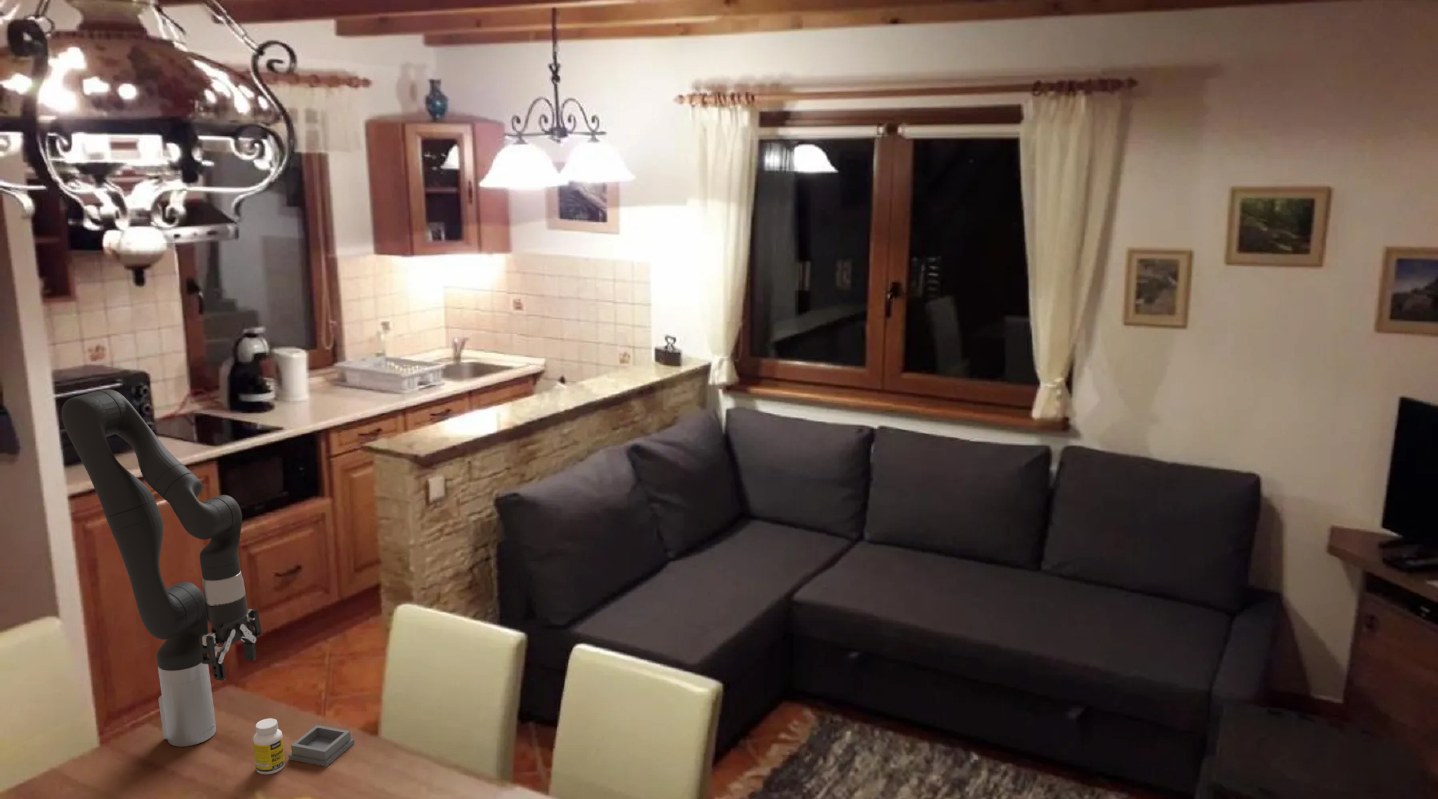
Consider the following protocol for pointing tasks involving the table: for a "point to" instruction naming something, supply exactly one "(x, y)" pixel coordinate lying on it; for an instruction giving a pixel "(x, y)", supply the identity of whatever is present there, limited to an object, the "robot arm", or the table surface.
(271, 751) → the supplement bottle
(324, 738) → the square open box
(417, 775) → the table surface
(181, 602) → the robot arm
